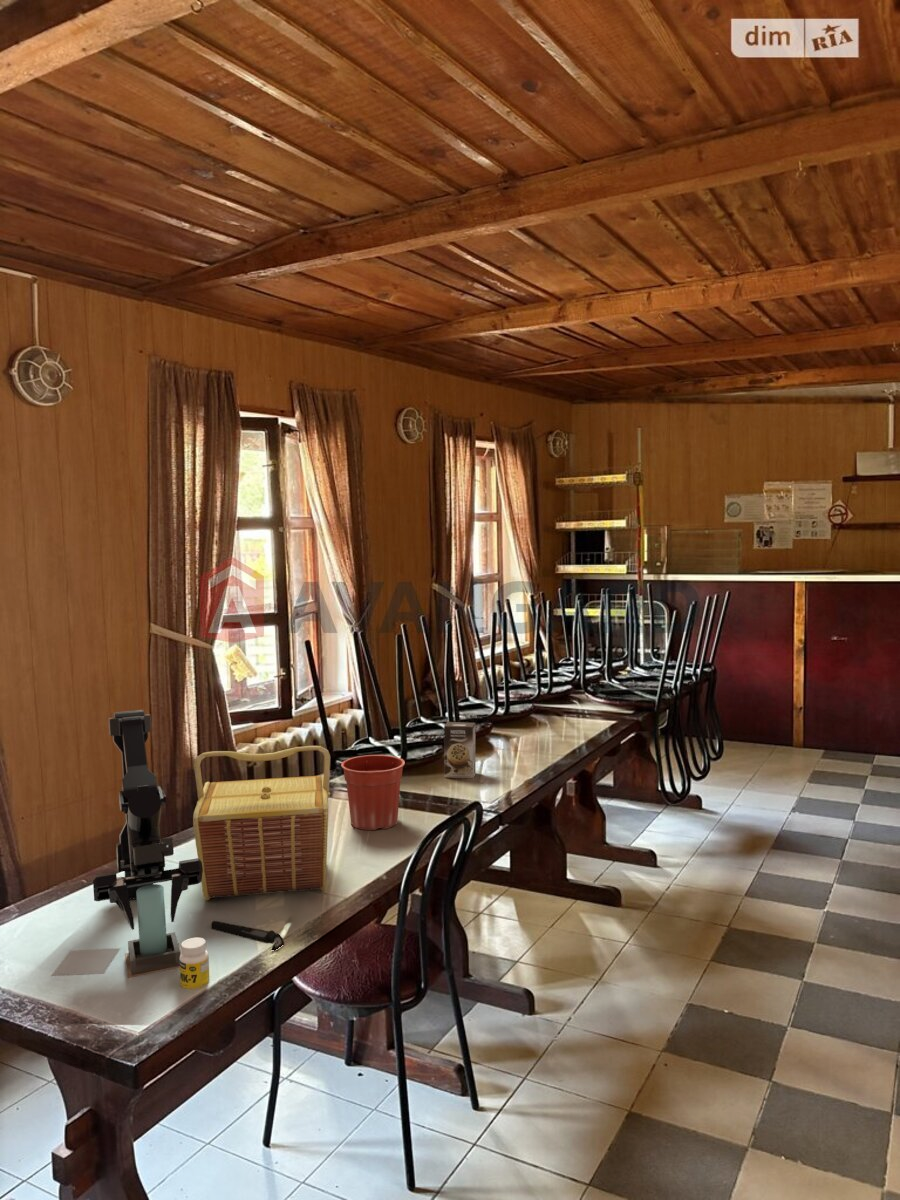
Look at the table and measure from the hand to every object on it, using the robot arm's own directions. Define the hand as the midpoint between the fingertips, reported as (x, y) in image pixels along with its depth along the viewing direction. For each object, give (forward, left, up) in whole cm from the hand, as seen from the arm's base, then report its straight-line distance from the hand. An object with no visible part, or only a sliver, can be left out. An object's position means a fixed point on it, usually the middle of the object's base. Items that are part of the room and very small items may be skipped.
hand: (153, 924), depth 157 cm
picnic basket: (-39, +9, -9) cm, 41 cm away
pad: (0, -13, -9) cm, 15 cm away
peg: (-1, -1, -7) cm, 7 cm away
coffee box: (-120, +47, -9) cm, 130 cm away
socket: (-1, -1, -9) cm, 9 cm away
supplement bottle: (+6, +9, -9) cm, 14 cm away
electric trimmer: (-12, +13, -9) cm, 20 cm away
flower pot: (-77, +27, -9) cm, 82 cm away
